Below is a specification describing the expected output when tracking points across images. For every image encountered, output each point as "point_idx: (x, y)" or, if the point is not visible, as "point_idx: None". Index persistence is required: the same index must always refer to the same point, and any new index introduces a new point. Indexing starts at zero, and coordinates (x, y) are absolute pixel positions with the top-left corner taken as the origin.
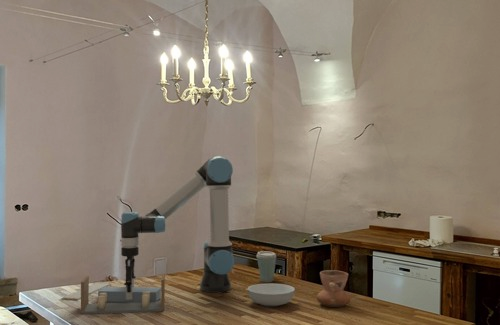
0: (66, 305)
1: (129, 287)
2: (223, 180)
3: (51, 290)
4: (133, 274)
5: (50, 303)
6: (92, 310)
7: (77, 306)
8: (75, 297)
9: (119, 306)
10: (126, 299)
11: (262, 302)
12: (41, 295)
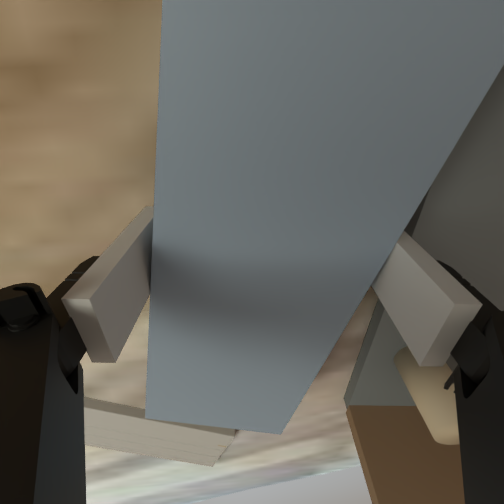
0: (307, 443)
1: (481, 308)
2: None
3: None
4: (44, 383)
5: (265, 472)
6: None
7: (335, 420)
8: (213, 443)
9: (499, 280)
10: None
11: None
12: (155, 493)
